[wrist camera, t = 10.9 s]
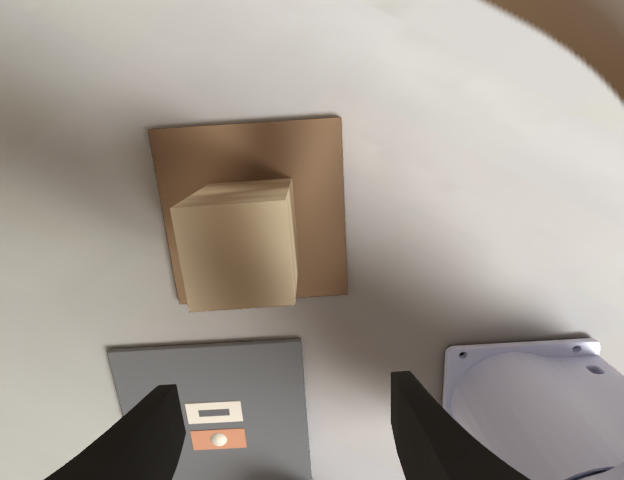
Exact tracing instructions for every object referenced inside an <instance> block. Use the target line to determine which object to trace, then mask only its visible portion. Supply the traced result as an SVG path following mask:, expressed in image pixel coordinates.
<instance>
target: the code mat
mask: <svg viewBox="0 0 624 480" xmlns="http://www.w3.org/2000/svg"><path fill="white" fill-rule="evenodd" d="M107 355H108V359H109V363H110V366H111V370H112V374H113V378H114V382H115V386H116V390H117V394H118V398H119V402H120V406H121V409H122V413H123V416H124V415H125V414H127V413H128V412H129V411H130V410H131V409H132V408H133V407H134V406H135V405H136V404H138V403H139V402H140V401H141V400H142V399H143V398H144V397H145V396H146V395H147V394H149V393H150V392H151V391H152V390H153V389H154V388H156V387H157V386H158V385H169V384H176V385H177V390H178V395H179V400H180V405H181V410H182V415H183V420H184V425H185V430H186V436H185V440H184V443H183V447H182V451H181V455H180V458H179V462H178V465H177V468H176V471H175V473H174V476H173V478H172V480H312V476H311V463H310V451H309V438H308V425H307V413H306V400H305V387H304V375H303V362H302V349H301V338H297V339H279V340H261V341H244V342H226V343H209V344H191V345H174V346H156V347H139V348H121V349H110V350H109V351H108V352H107Z"/></svg>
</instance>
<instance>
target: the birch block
mask: <svg viewBox="0 0 624 480" xmlns="http://www.w3.org/2000/svg"><path fill="white" fill-rule="evenodd" d="M170 212H171V218H172V223H173V228H174V234H175V239H176V244H177V250H178V255H179V260H180V266H181V271H182V276H183V282H184V287H185V293H186V298H187V303H188V309H189V312H200V311H215V310H230V309H244V308H259V307H273V306H288V305H295V301H296V288H297V274H298V261H299V253H298V241H297V230H296V218H295V207H294V196H293V184H292V178H283V179H269V180H256V181H242V182H228V183H215V184H208V185H206V186H205V187H203V188H201V189H200V190H198V191H197V192H195V193H193V194H192V195H190V196H189V197H187V198H185V199H184V200H182V201H181V202H179V203H178V204H176V205H174V206H173V207H171V208H170Z"/></svg>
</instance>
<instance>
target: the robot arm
mask: <svg viewBox="0 0 624 480" xmlns="http://www.w3.org/2000/svg"><path fill="white" fill-rule="evenodd" d="M575 346H576V348H574V349H573V347H575ZM600 348H601V345H600V343H599V342H598V341H597V340H595V339H594V338H583V339H565V340H548V341H530V342H512V343H495V344H477V345H459V346H451V347H449V348H447V350H446V352H445V365H444V385H443V404H442V406H441V405H440V404H439V403H438V402H437V401H436V400H435V399H434V398H433V397H432V396H431V395H430V393H429V392H428V391H427V390H426V389H425V388H424V387H423V386H422V384H421V383H420V382H419V381H418V380H417V379H416V377H415V376H414V375H413V374H412V373H411V372H410V371H401V372H391V425H392V430H393V435H394V440H395V444H396V449H397V453H398V456H399V459H400V463H401V466H402V469H403V472H404V475H405V478H406V480H624V376H623V375H622V374H621V373H619V372H618V371H617V370H616V369H615V368H613V367H612V366H611V365H610V364H608V363H607V362H606V361H605V360H603V359H602V358H601V357H600V356H599V354H600ZM461 352H465V353H464V354H463V355H461V356H460V355H459V354H460V353H461ZM185 436H186V430H185V425H184V420H183V415H182V410H181V405H180V400H179V395H178V390H177V385H176V384H169V385H158V386H157V387H156V388H154V389H153V390H152V391H151V392H150V393H149V394H147V395H146V396H145V397H144V398H143V399H142V400H141V401H140V402H139V403H138V404H136V405H135V406H134V407H133V408H132V409H131V410H130V411H129V412H128V413H127V414H125V415H124V416H123V417H122V418H121V419H120V420H119V421H118V422H116V423H115V424H114V425H113V426H112V427H111V428H110V429H109V430H107V431H106V432H105V433H104V434H103V435H101V436H100V437H99V438H98V439H97V440H95V441H94V442H93V443H92V444H90V445H89V446H88V447H87V448H86V449H84V450H83V451H82V452H81V453H80V454H78V455H77V456H76V457H74V458H73V459H72V460H70V461H69V462H68V463H66V464H65V465H64V466H62V467H61V468H60V469H58V470H57V471H55V472H54V473H53V474H51V475H50V476H49V477H47V478H46V479H44V480H172V478H173V476H174V473H175V471H176V468H177V465H178V462H179V458H180V455H181V451H182V447H183V443H184V440H185Z"/></svg>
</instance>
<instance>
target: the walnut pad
mask: <svg viewBox="0 0 624 480" xmlns="http://www.w3.org/2000/svg"><path fill="white" fill-rule="evenodd" d="M148 134H149V140H150V145H151V151H152V156H153V162H154V167H155V173H156V178H157V184H158V189H159V195H160V200H161V206H162V211H163V217H164V222H165V228H166V233H167V239H168V244H169V250H170V255H171V261H172V266H173V272H174V277H175V283H176V288H177V294H178V299H179V304H188V303H187V298H186V293H185V287H184V282H183V276H182V271H181V266H180V260H179V255H178V250H177V244H176V239H175V234H174V228H173V223H172V218H171V212H170V208H171V207H173V206H174V205H176V204H178V203H179V202H181V201H182V200H184V199H185V198H187V197H189V196H190V195H192V194H193V193H195V192H197V191H198V190H200V189H201V188H203V187H205V186H206V185H208V184H215V183H228V182H242V181H256V180H269V179H283V178H292V184H293V196H294V207H295V218H296V230H297V241H298V253H299V261H298V274H297V288H296V298H298V297H316V296H333V295H348V291H347V262H346V234H345V206H344V177H343V149H342V121H341V117H337V118H321V119H305V120H290V121H274V122H258V123H242V124H226V125H210V126H195V127H179V128H163V129H148Z"/></svg>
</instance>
